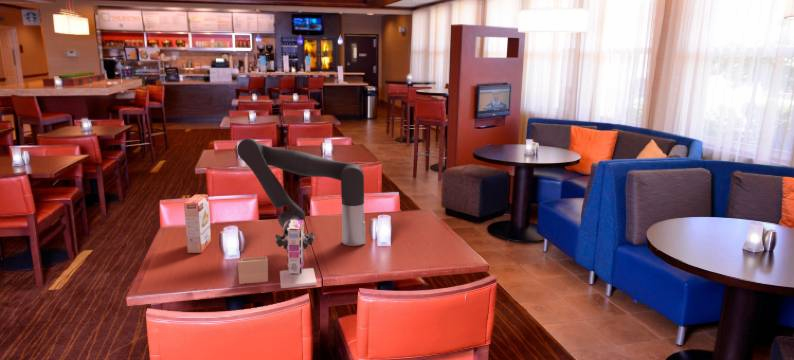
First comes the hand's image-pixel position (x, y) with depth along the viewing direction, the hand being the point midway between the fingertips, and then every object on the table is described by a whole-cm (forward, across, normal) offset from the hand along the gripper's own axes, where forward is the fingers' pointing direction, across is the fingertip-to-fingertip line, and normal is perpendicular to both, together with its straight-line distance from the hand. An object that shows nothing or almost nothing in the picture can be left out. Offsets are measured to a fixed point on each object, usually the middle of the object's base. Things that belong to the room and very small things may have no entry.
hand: (296, 246), depth 183 cm
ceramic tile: (-2, 0, +13) cm, 13 cm away
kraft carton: (-12, -15, +13) cm, 23 cm away
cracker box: (-43, -37, +14) cm, 58 cm away
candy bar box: (-2, 0, +9) cm, 10 cm away
